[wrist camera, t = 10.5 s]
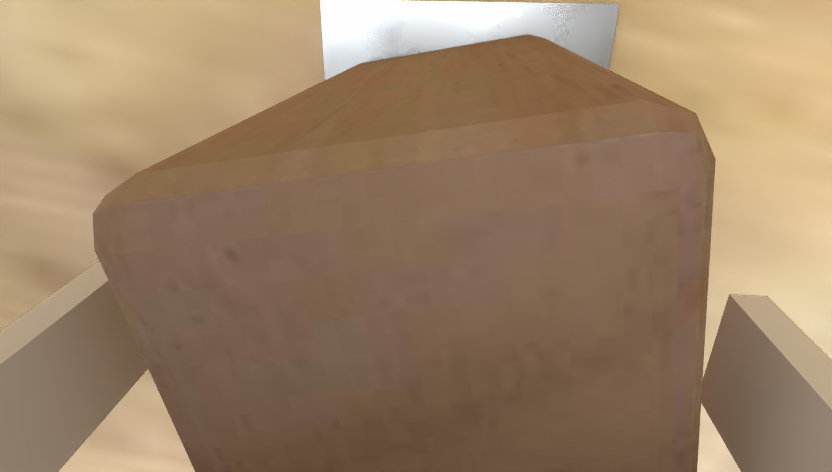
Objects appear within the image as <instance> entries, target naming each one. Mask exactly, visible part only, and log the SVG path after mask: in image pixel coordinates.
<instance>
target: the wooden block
mask: <svg viewBox="0 0 832 472" xmlns="http://www.w3.org/2000/svg"><path fill="white" fill-rule="evenodd" d="M714 175H715V157H714V155H713V152H712V150H711V148H710V145H709V143H708V141H707V138H706V136H705V134H704V131H703V129H702V127H701V124H700V122H699V120H698V117H697V115H696V113H694V112H692V111H690V110H688V109H686V108H684V107H682V106H680V105H678V104H676V103H674V102H672V101H670V100H668V99H666V98H664V97H662V96H660V95H658V94H656V93H654V92H652V91H650V90H648V89H646V88H644V87H642V86H640V85H638V84H636V83H634V82H632V81H630V80H628V79H626V78H624V77H622V76H620V75H618V74H616V73H614V72H612V71H610V70H608V69H606V68H604V67H602V66H600V65H598V64H596V63H594V62H592V61H590V60H588V59H585V58H583V57H581V56H579V55H577V54H575V53H573V52H571V51H569V50H567V49H565V48H563V47H561V46H559V45H557V44H555V43H553V42H551V41H549V40H547V39H545V38H542V37H538V36H534V35H530V34H527V35H521V36H516V37H510V38H504V39H498V40H492V41H486V42H481V43H475V44H469V45H463V46H457V47H451V48H446V49H440V50H434V51H428V52H422V53H417V54H411V55H405V56H399V57H393V58H387V59H382V60H376V61H370V62H364V63H360V64H358V65H356V66H354V67H352V68H349V69H347V70H345V71H343V72H341V73H339V74H337V75H335V76H333V77H331V78H329V79H327V80H325V81H323V82H321V83H319V84H317V85H315V86H313V87H311V88H309V89H307V90H305V91H303V92H301V93H299V94H297V95H295V96H293V97H291V98H289V99H287V100H285V101H283V102H281V103H279V104H277V105H275V106H273V107H270V108H268V109H266V110H264V111H262V112H260V113H258V114H256V115H254V116H252V117H250V118H248V119H246V120H244V121H242V122H240V123H238V124H236V125H234V126H232V127H230V128H228V129H226V130H224V131H222V132H220V133H218V134H216V135H214V136H212V137H210V138H208V139H206V140H204V141H202V142H200V143H198V144H196V145H194V146H191V147H189V148H187V149H185V150H183V151H181V152H179V153H177V154H175V155H173V156H171V157H169V158H167V159H165V160H163V161H161V162H159V163H157V164H155V165H153V166H151V167H149V168H147V169H145V170H143V171H141V172H139V173H137V174H135V175H134V176H132V177H131V178H130V179H128V180H127V181H125V182H124V183H123V184H121V185H120V186H118V187H117V188H116V189H114V190H113V191H111V192H110V193H109V194H107V195H106V196H105V197H104V199H103V200H102V202H101V203H100V204H99V206H98V207H97V209H96V210H95V212H94V213H93V227H94V245H95V252H96V254H97V256H98V259H99V261H100V263H101V265H102V267H103V270H104V272H105V274H106V276H107V278H108V281H109V283H110V285H111V287H112V289H113V292H114V294H115V296H116V298H117V300H118V303H119V305H120V307H121V309H122V311H123V314H124V316H125V318H126V320H127V322H128V325H129V327H130V329H131V331H132V333H133V336H134V338H135V340H136V342H137V344H138V347H139V349H140V351H141V353H142V355H143V358H144V360H145V362H146V364H147V366H148V369H149V371H150V373H151V375H152V377H153V380H154V382H155V384H156V386H157V388H158V391H159V393H160V395H161V397H162V399H163V402H164V404H165V406H166V408H167V410H168V413H169V415H170V417H171V419H172V421H173V424H174V426H175V428H176V430H177V432H178V435H179V437H180V439H181V441H182V443H183V446H184V448H185V450H186V452H187V454H188V457H189V459H190V461H191V463H192V465H193V468H194V470H195V472H697V461H698V444H699V427H700V410H701V394H702V377H703V360H704V343H705V326H706V309H707V293H708V276H709V259H710V242H711V225H712V208H713V192H714Z"/></svg>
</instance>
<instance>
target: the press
mask: <svg viewBox="0 0 832 472" xmlns="http://www.w3.org/2000/svg"><path fill="white" fill-rule="evenodd" d="M320 4H321V22H322V40H323V58H324V75H325V80H327V79H329V78H331V77H333V76H335V75H337V74H339V73H341V72H343V71H345V70H347V69H349V68H352V67H354V66H356V65H358V64H360V63H364V62H370V61H376V60H382V59H387V58H393V57H399V56H405V55H411V54H417V53H422V52H428V51H434V50H440V49H446V48H451V47H457V46H463V45H469V44H475V43H481V42H486V41H492V40H498V39H504V38H510V37H516V36H521V35H527V34H530V35H534V36H538V37H542V38H545V39H547V40H549V41H551V42H553V43H555V44H557V45H559V46H561V47H563V48H565V49H567V50H569V51H571V52H573V53H575V54H577V55H579V56H581V57H583V58H585V59H588V60H590V61H592V62H594V63H596V64H598V65H600V66H602V67H604V68H606V69H608V70H609V66H610V60H611V54H612V48H613V41H614V35H615V29H616V23H617V16H618V10H619V4H584V3H519V2H455V1H390V0H320Z"/></svg>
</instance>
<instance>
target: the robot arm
mask: <svg viewBox="0 0 832 472" xmlns="http://www.w3.org/2000/svg"><path fill="white" fill-rule="evenodd" d="M147 369H148V366H147V364H146V362H145V360H144V358H143V355H142V353H141V351H140V349H139V347H138V344H137V342H136V340H135V338H134V336H133V333H132V331H131V329H130V327H129V325H128V322H127V320H126V318H125V316H124V314H123V311H122V309H121V307H120V305H119V303H118V300H117V298H116V296H115V294H114V292H113V289H112V287H111V285H110V283H109V281H108V278H107V276H106V274H105V272H104V270H103V267H102V265H101V263H100V261H98V262H97V263H96V264H94V265H93V266H91V267H90V268H88V269H87V270H86V271H84V272H83V273H81V274H80V275H79V276H77V277H76V278H74V279H73V280H71V281H70V282H69V283H67V284H66V285H64V286H63V287H62V288H60V289H59V290H57V291H56V292H54V293H53V294H52V295H50V296H49V297H47V298H46V299H45V300H43V301H42V302H40V303H39V304H37V305H36V306H35V307H33V308H32V309H30V310H29V311H28V312H26V313H25V314H23V315H22V316H20V317H19V318H18V319H16V320H15V321H13V322H12V323H11V324H9V325H8V326H6V327H5V328H3V329H2V330H1V331H0V472H58V471H59V470H60V469H61V468H62V467H63V466H64V465H65V463H66V462H67V461H68V460H69V459H70V458H71V456H72V455H73V454H74V453H75V452H76V451H77V450H78V448H79V447H80V446H81V445H82V444H83V443H84V442H85V440H86V439H87V438H88V437H89V436H90V435H91V433H92V432H93V431H94V430H95V429H96V428H97V427H98V425H99V424H100V423H101V422H102V421H103V420H104V419H105V417H106V416H107V415H108V414H109V413H110V412H111V410H112V409H113V408H114V407H115V406H116V405H117V404H118V402H119V401H120V400H121V399H122V398H123V397H124V396H125V394H126V393H127V392H128V391H129V390H130V389H131V387H132V386H133V385H134V384H135V383H136V382H137V381H138V379H139V378H140V377H141V376H142V375H143V374H144V373H145V371H146V370H147ZM701 403H702V405H703V406H704V408H705V410H706V411H707V413H708V415H709V417H710V418H711V420H712V422H713V424H714V425H715V427H716V429H717V430H718V432H719V434H720V436H721V437H722V439H723V441H724V443H725V444H726V446H727V448H728V449H729V451H730V453H731V455H732V456H733V458H734V460H735V462H736V463H737V465H738V467H739V469H740V470H741V472H832V360H831V359H830V358H829V357H828V356H827V355H826V354H825V353H824V352H823V351H822V350H821V349H820V348H819V347H818V346H817V345H816V344H815V343H814V342H813V341H812V340H811V339H810V338H809V337H808V336H807V335H806V334H805V333H804V332H803V331H802V330H801V329H800V328H799V327H798V326H797V325H796V324H795V323H794V322H793V321H792V320H791V319H790V318H789V317H788V316H787V315H786V314H785V313H784V312H783V311H782V310H781V309H780V308H779V307H778V306H777V305H776V304H775V303H774V302H773V301H772V300H771V299H770V298H769V297H768V296H754V295H737V294H729V297H728V300H727V303H726V307H725V310H724V313H723V316H722V320H721V323H720V326H719V329H718V332H717V336H716V339H715V342H714V345H713V349H712V352H711V355H710V358H709V361H708V365H707V368H706V371H705V374H704V378H703V381H702V394H701Z"/></svg>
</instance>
